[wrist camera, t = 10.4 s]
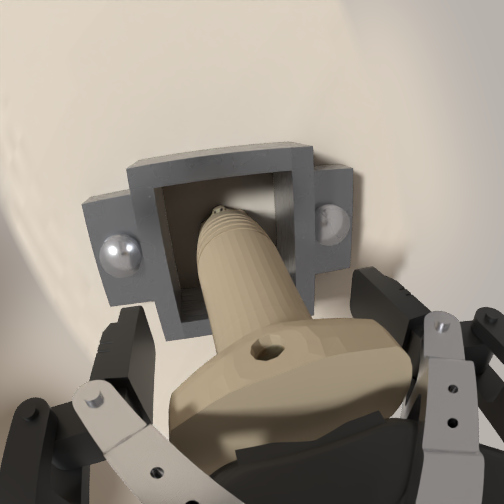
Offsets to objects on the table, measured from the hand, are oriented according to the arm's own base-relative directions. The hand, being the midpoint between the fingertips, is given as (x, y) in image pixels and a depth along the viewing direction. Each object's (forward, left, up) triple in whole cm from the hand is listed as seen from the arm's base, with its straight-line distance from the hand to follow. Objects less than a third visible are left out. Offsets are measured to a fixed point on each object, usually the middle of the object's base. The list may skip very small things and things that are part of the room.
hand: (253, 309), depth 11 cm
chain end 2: (0, +2, -10) cm, 10 cm away
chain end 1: (0, -2, -10) cm, 10 cm away
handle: (0, 0, -10) cm, 10 cm away
